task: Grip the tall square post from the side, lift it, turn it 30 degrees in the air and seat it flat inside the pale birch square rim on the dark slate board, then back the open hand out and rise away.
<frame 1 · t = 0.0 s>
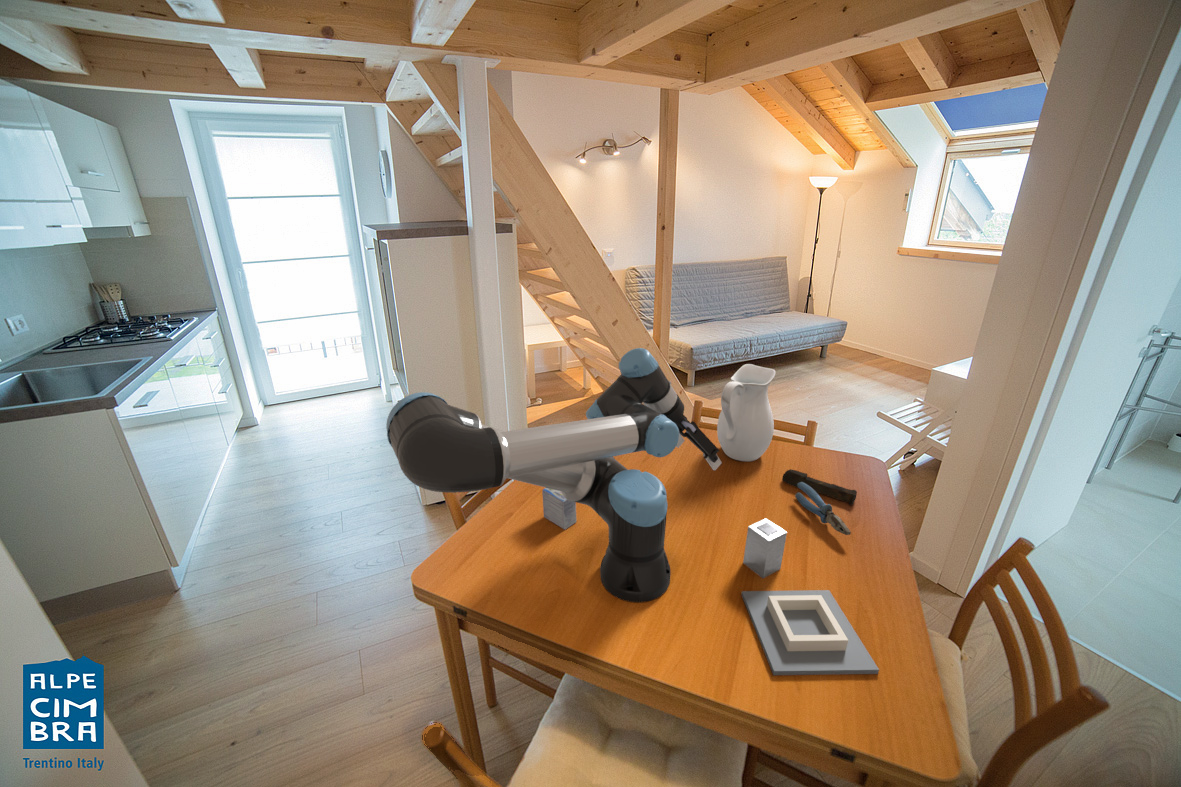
hand: (698, 454, 122), 15 cm above the table, tool tilted 35°, fingers open, 13 cm apart
pitcher: (735, 457, 152), on the table
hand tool: (816, 494, 133), on the table
medicine box: (559, 520, 122), on the table
cradle: (803, 630, 90), on the table
pliers: (819, 520, 122), on the table
tall square post: (761, 566, 106), on the table
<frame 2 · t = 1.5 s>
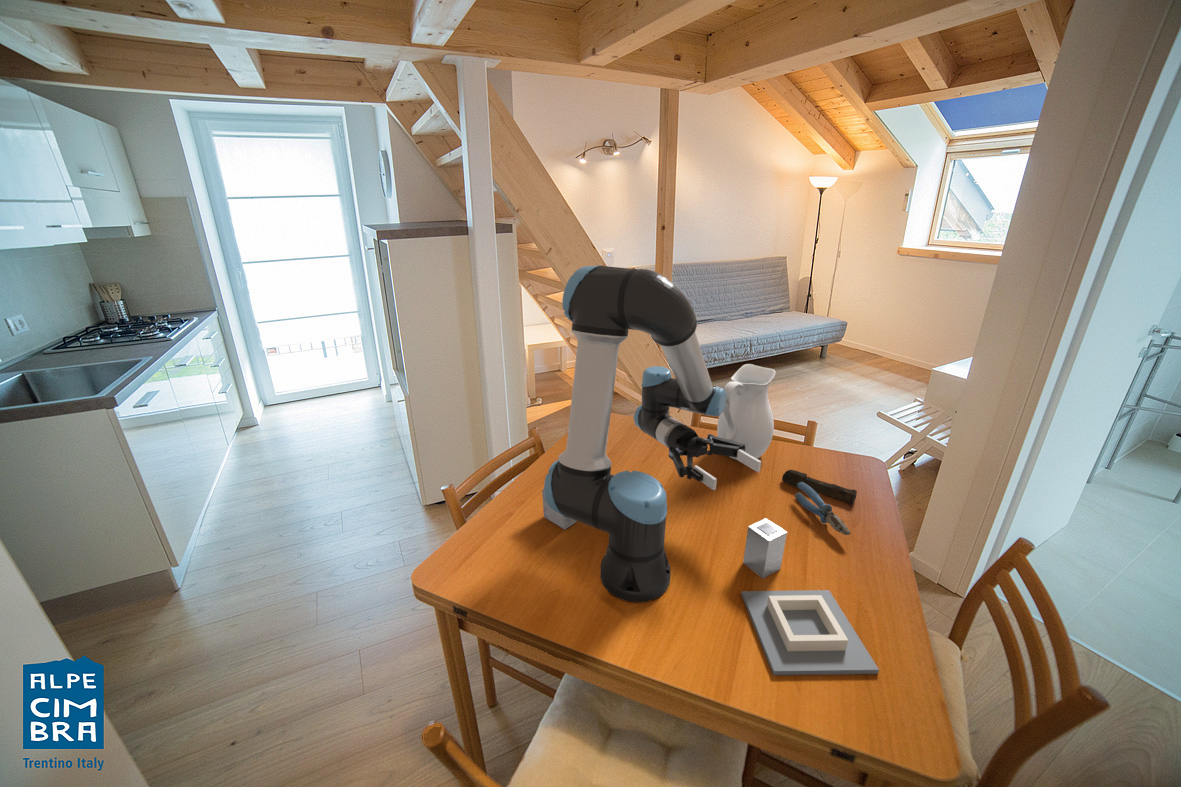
hand: (738, 475, 106), 19 cm above the table, tool horizontal, fingers open, 13 cm apart
nothing on the table moved.
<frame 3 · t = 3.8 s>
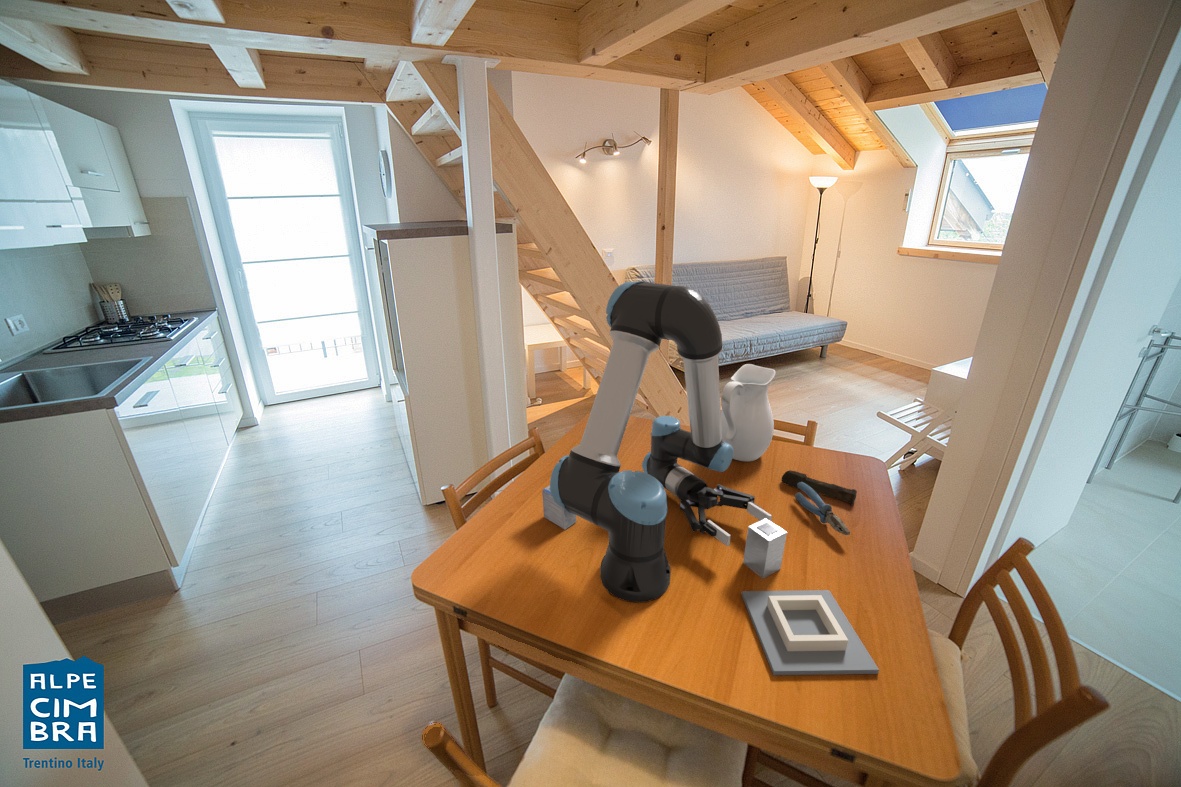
hand: (750, 530, 108), 6 cm above the table, tool horizontal, fingers open, 13 cm apart
nothing on the table moved.
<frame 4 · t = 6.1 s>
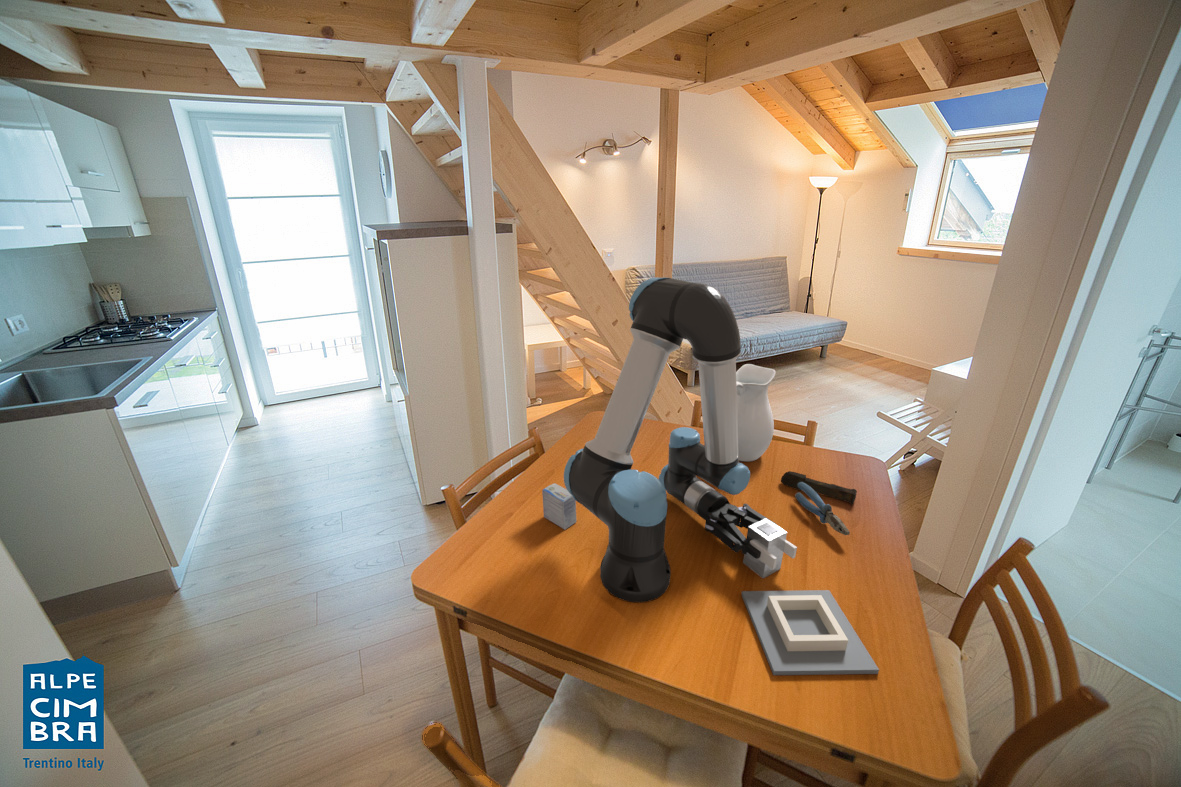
hand: (784, 558, 100), 6 cm above the table, tool horizontal, fingers closed on tall square post, 6 cm apart
tall square post: (761, 565, 106), on the table, touching gripper
everything else where it was.
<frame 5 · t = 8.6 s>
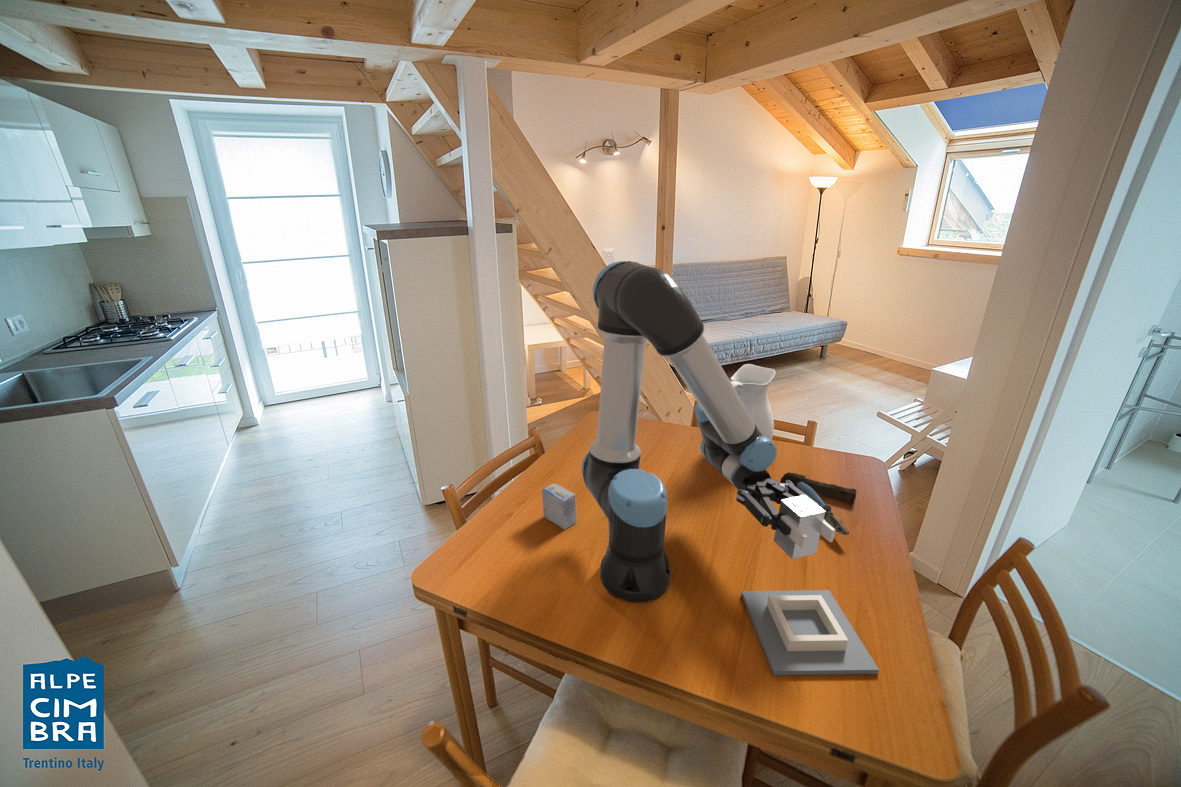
hand: (818, 539, 88), 17 cm above the table, tool horizontal, fingers closed on tall square post, 6 cm apart
tall square post: (794, 546, 95), point 11 cm above the table, touching gripper
when the fingers open (9 cm above the table, at t = 11.4 s): tall square post drops 1 cm, resting on cradle.
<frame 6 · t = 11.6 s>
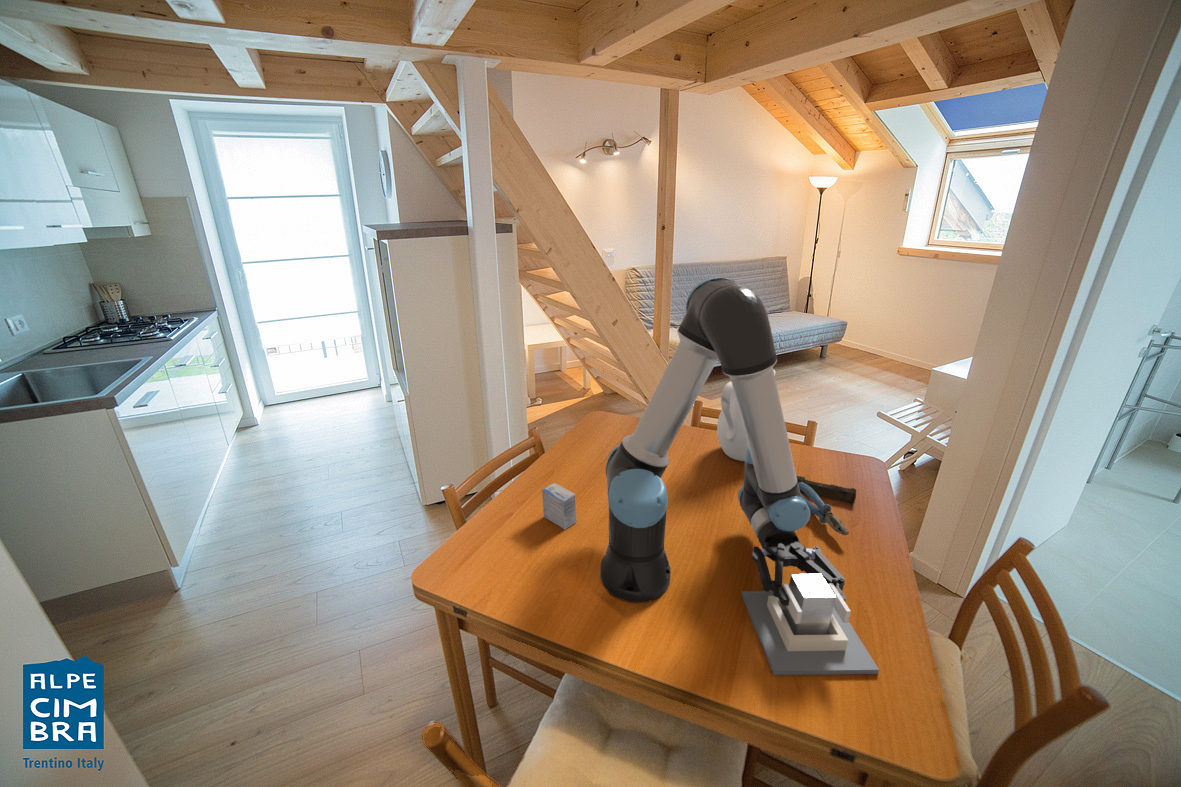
hand: (823, 617, 82), 9 cm above the table, tool horizontal, fingers open, 8 cm apart
tall square post: (803, 626, 90), point 1 cm above the table, touching cradle
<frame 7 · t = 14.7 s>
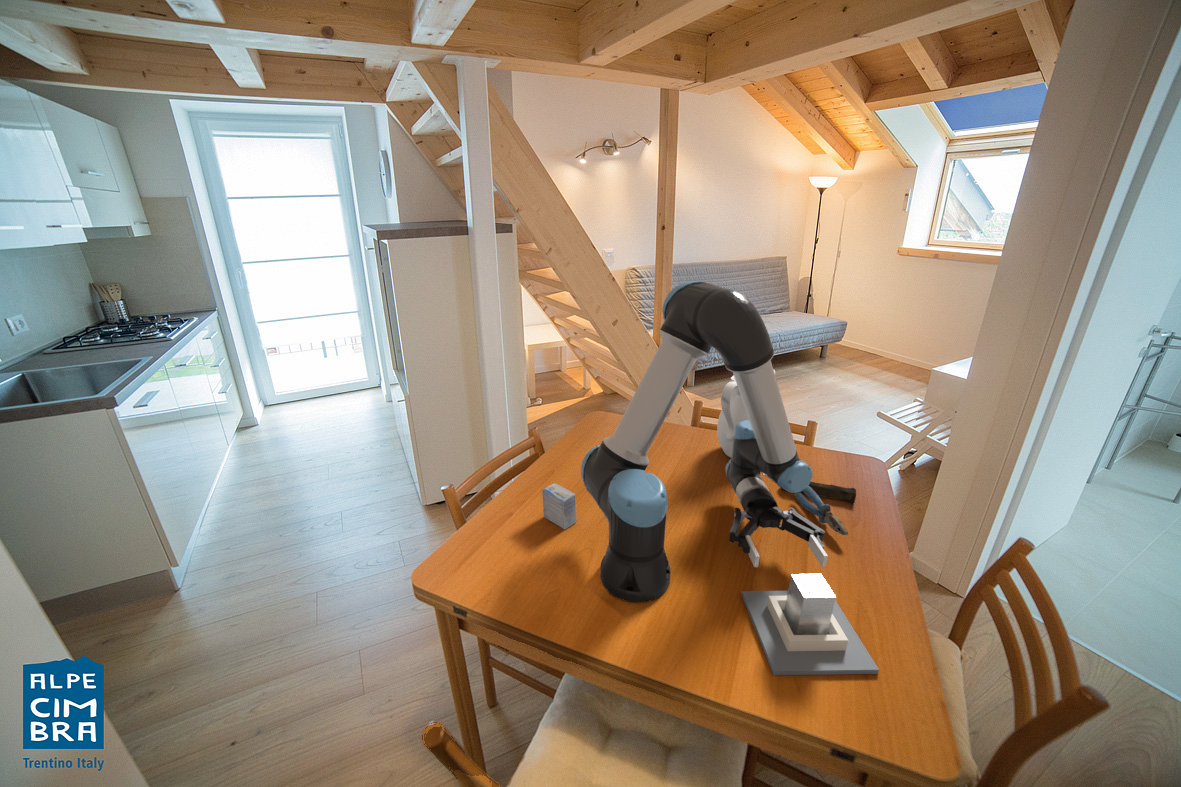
hand: (791, 561, 95), 9 cm above the table, tool horizontal, fingers open, 13 cm apart
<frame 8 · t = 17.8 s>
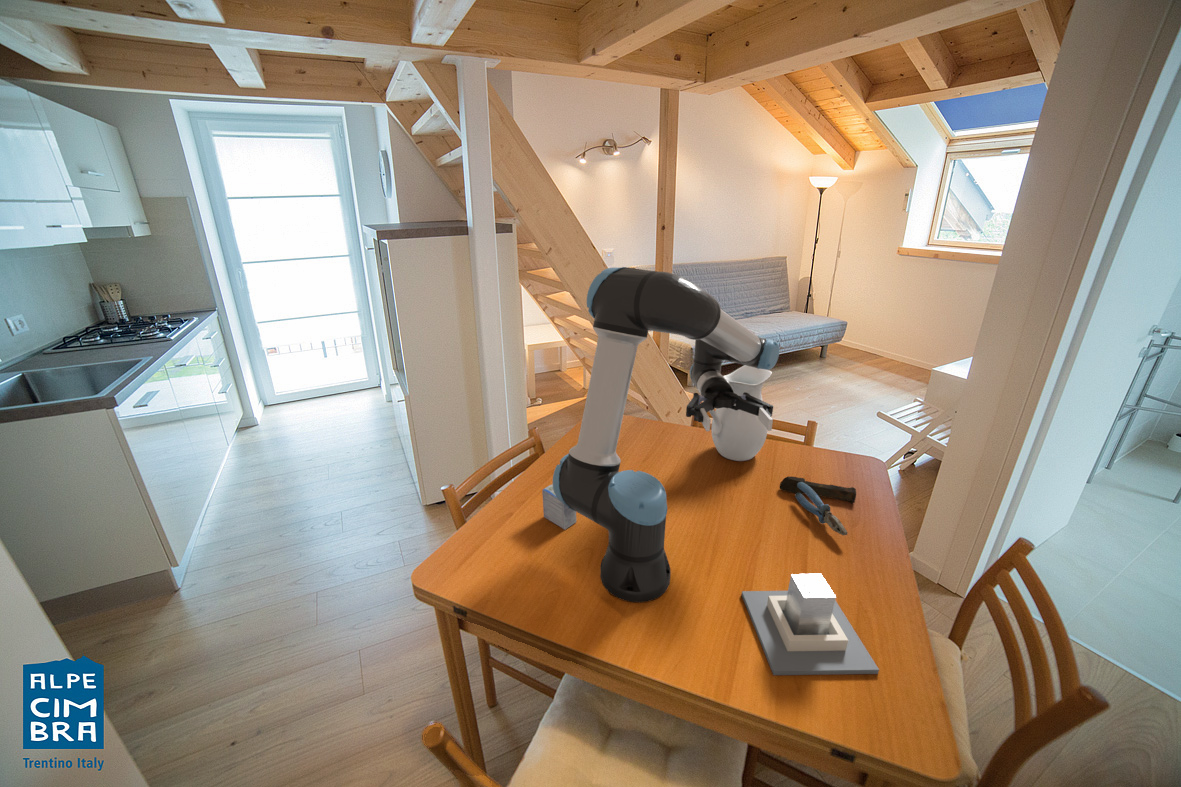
hand: (739, 425, 104), 30 cm above the table, tool horizontal, fingers open, 13 cm apart
pitcher: (727, 455, 153), on the table
at the end: tall square post 0.0 cm off-centre on the cradle, point 1.0 cm above the cradle's base; tall square post tilted 0°; the gripper is holding nothing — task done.
